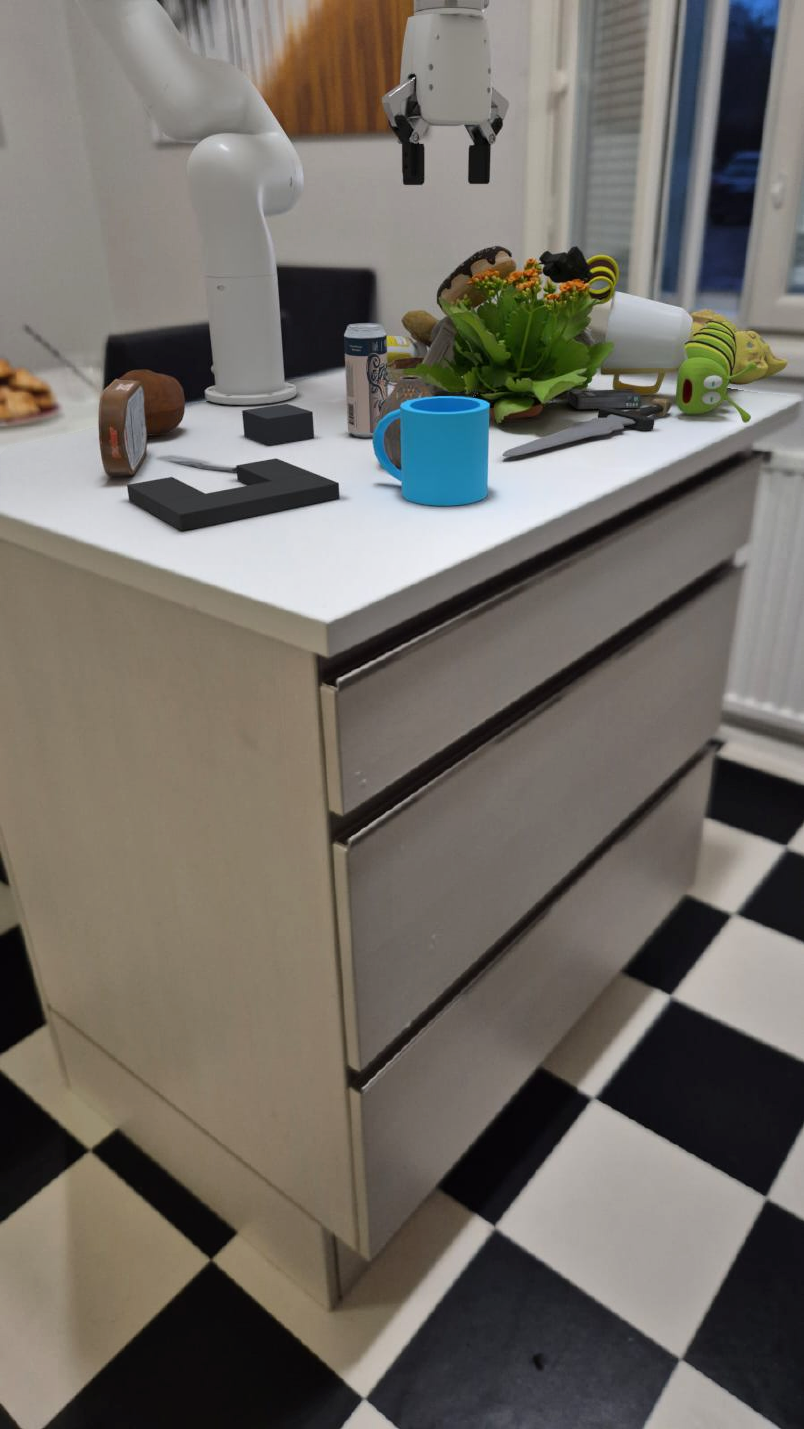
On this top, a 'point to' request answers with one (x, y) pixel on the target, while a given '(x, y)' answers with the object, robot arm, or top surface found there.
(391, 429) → the vase
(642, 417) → the dagger
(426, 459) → the mug
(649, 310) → the mug
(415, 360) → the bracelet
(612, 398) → the mini dv tape
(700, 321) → the figurine
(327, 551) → the top surface
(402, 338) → the supplement bottle
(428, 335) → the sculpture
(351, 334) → the beer can
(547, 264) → the toy gun
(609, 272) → the opera glasses
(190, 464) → the knife
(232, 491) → the base pad
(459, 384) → the potted flower
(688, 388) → the toy
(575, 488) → the top surface
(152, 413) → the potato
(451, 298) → the donut
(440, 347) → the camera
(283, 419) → the small pad
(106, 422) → the tin
